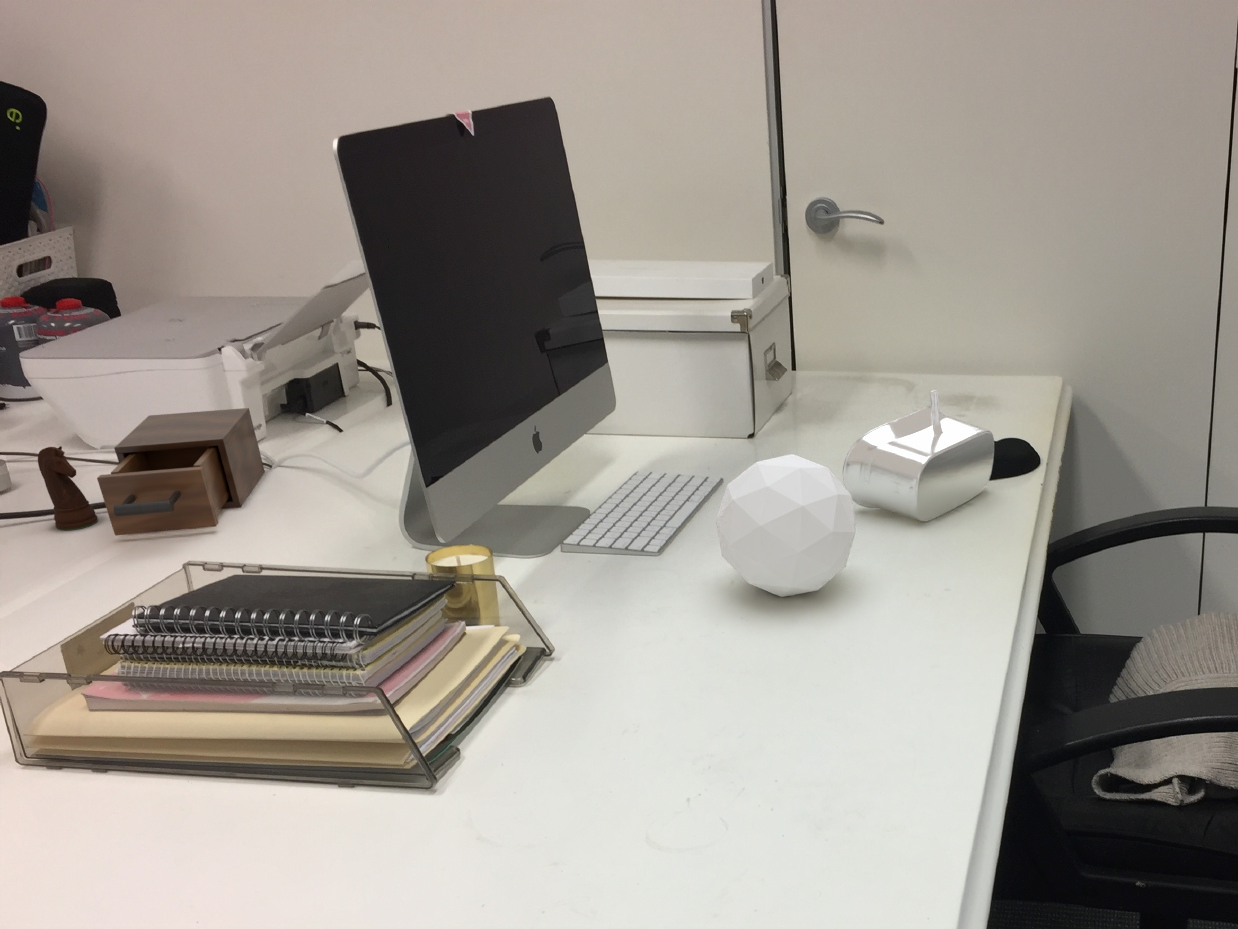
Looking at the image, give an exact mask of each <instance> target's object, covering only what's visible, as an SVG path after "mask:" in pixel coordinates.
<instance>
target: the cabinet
mask: <svg viewBox="0 0 1238 929" xmlns="http://www.w3.org/2000/svg"><path fill="white" fill-rule="evenodd" d="M217 445H218V448H219V452H220V455H221V459H222V463H223V467H224V470H225V474H226V478H227V481H228V485H229V489H230V493H231V495H230V497H229V498H228V499H227V501H226V502H225V504H224V505H223V506H222V508H221V509H220V510H224V509H225V510H226V509H234V508H241V507H242V506H244V504H245V502H246V500H247V499H248V498H249V496H250V494H251V493H252V492H253V490H254V489H255V487H256V485H257V484H258V483H259V482H260V480H261V478H262V477H263V475H264V474H265V473H266V470H265V467H264V463H263V459H262V455H261V454H262V453H261V451H260V447H259V442H258V439H257V435H256V431H255V427H254V422H253V419H252V416H251V412H250V408H249V407H243V408H229V409H228V408H227V409H218V410H216V409H215V410H202V411H191V412H179V413H176V412H175V413H165V414H164V413H163V414H151V415H148V416H147V417H146V418H144V419H143V421H142V422H140V423H139V424H137V426H135V428H134V429H132V430H131V432H130V433H129V434H127V435H126V436H125V437H124V438H123V439H122V440H121V441H120V442H118V444H116V445H115V446H114V451H115V455H116V457H117V461H118V465H119V464H120V463H121V462H122V461H123V460H124V459H125V458H126V457H127V456H128V455H129V454H130V453H131V452H143V451H155V450H168V449H180V448H193V447H205V446H217Z"/></svg>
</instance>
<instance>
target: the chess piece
mask: <svg viewBox="0 0 1238 929" xmlns="http://www.w3.org/2000/svg"><path fill="white" fill-rule="evenodd" d="M62 449H63V446H62V445H60V446H59V447H56V446H48V447H45V448H42V449H41V450H40V451H39V452H38V454H37V466H38V469H39V471H40V474H41V476H42V478H43V481H44V484H45V488H46V490H47V493H48V495H49V498H50V501H51V503H52V505H53V510H54V513H53V520H54V522H55V523H54V525H55V527H56V528H57V529H58V530H60V531H72V530H73V531H75V530H80V529H84V528H87V527H88V528H89V527H91V526H93V525H95V524H96V523H97V522H98V519H99V518H98V514H96V511H95V509H94V508H93V507H92V506H91V505H90V501H89V500H88V499H87V497H86V496H85V494H84V493H83V492H82V490H81V489H80V488H79V487H78V485H77V484H76V483H75V482H74V481H73V479H74V478H75V477H76V476H77V470H76V468H74V466H72V465H71V464H70V462H69V461H68V459H67V456H65V453H66V452H65V451H64V450H62Z"/></svg>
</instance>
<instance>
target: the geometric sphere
mask: <svg viewBox="0 0 1238 929" xmlns="http://www.w3.org/2000/svg"><path fill="white" fill-rule="evenodd" d="M853 503H854V502H853V500H852V495H851V494H850V493H849V492H848V491H847V490H846V488H845V485H844V484H842V482H841V481H840V480H839V479H838V478H837V477H836V476H835V475H834V474H833V472H832V471H831V470H830V469H829V468H828V467H827V466H825V465H822V464H819V463H817V462H814V461H811V460H808V459H807V458H804V457H801V456H799V455H797V454H794V453H789V454H785V455H781V456H777V457H772V458H768V459H764V460H758V461H756V462H755V463H753V464H752V465H750V466H749V467H748V468H747V469H745V470H744V471H742V473H740V474H739V475H738V476H737V477H735V478H734V479H733V480H732V481H730V482H729V483H727V485H726V488H725V491H724V494H723V497H722V500H721V503H720V506H719V509H718V512H717V515H716V518H715V525H716V529H717V535H718V540H719V541H718V542H719V547H720V552H721V558H723V559H724V560H725V561H726V563H728V565H729V566H731V567H732V569H733V570H735V571H736V573H737V574H738V575H739V576H740V577H741V578H742V579H743V580H744V581H745V582H746V583H747V584H749V585H752V586H754V587H756V588H759V589H761V590H763V591H766V592H768V593H770V594H773V595H775V596H778V597H780V598H784V597H790V596H796V595H800V594H801V595H802V594H805V593H811V592H816V591H819V590H820V589H821V588H822V587H823V586H825V585H826V584H827V583H828V582H830V581H831V579H833V578H834V577H836V575H838V574H839V573H840V572H841V571H843V570H844V569H845V568H846V566H847V563H848V560H849V557H850V554H851V549H852V546H853V542H854V539H855V536H856V534H857V528H856V520H855V513H854V505H853Z"/></svg>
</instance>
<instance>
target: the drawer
mask: <svg viewBox="0 0 1238 929" xmlns="http://www.w3.org/2000/svg"><path fill="white" fill-rule="evenodd" d="M96 480H97V482H98V485H99V489H100V492H101V495H102V499H103V502H104V505H105V508H106V511H107V514H108V518H109V521H110V523H111V526H112V530H113V533H114V535H115V536H126V535H127V536H128V535H137V534H148V533H149V534H150V533H158V532H159V533H160V532H170V531H180V530H181V531H182V530H191V529H203V528H212V527H213V528H214V527H218V525H219V521H218V516H217V515H218V513H219V512H220V511H221V510H222V509H221V508H222V506H223V505H224V504H225V502H226V501H227V499H228V498H229V497H230V495H231V493H230V489H229V485H228V481H227V478H226V474H225V470H224V467H223V463H222V459H221V455H220V452H219V448H218V445H217V446H205V447H193V448H180V449H168V450H155V451H143V452H131V453H130V454H129V455H128V456H127V457H126V458H125V459H124V460H123V461H122V462H121V463H120V464H119V463H118V465H117V466H115V467H114V468H113V469H112V471H111V472H110V473H108V474H107V473H106V474H100V475H98V477H96Z"/></svg>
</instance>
